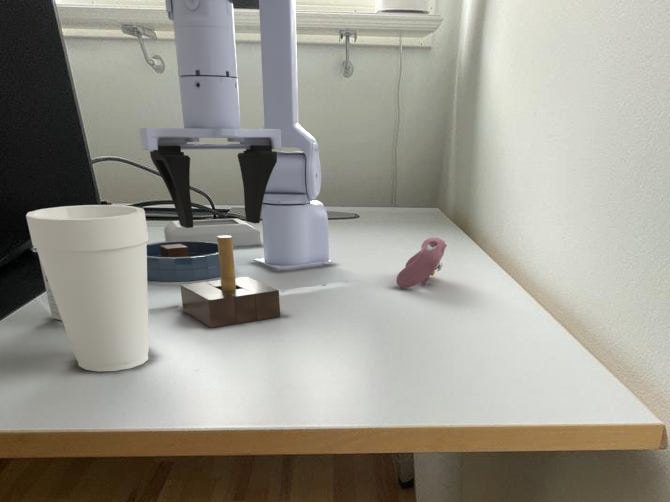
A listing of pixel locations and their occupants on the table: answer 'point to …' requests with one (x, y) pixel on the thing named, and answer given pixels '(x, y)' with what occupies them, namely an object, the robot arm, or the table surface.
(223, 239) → the stirring stick
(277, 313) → the stick stand
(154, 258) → the bowl
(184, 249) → the walnut block
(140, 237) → the foam cup
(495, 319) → the table surface
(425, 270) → the pink rounded piece
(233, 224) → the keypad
